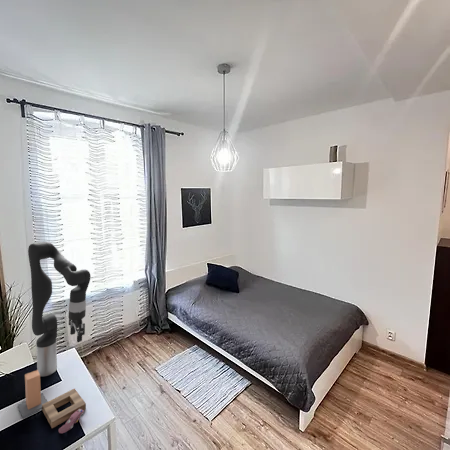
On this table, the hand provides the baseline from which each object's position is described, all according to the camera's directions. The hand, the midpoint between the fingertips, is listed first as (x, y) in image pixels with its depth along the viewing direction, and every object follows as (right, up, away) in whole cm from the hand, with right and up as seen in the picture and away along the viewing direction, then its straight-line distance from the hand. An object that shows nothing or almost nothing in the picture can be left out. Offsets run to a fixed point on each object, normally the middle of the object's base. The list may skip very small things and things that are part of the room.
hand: (76, 337), depth 131 cm
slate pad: (-15, -29, -9) cm, 34 cm away
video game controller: (+9, -31, -18) cm, 37 cm away
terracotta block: (-15, -28, -9) cm, 33 cm away
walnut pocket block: (+1, -30, -11) cm, 31 cm away
